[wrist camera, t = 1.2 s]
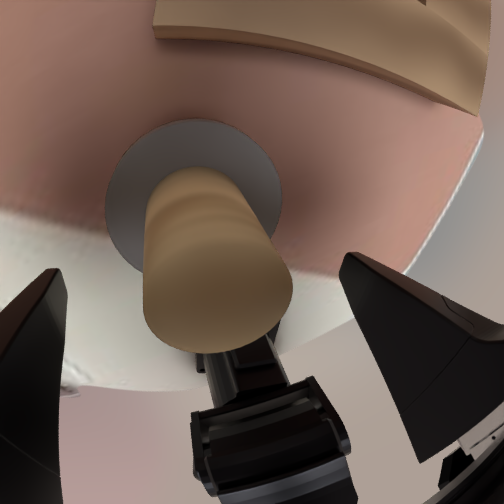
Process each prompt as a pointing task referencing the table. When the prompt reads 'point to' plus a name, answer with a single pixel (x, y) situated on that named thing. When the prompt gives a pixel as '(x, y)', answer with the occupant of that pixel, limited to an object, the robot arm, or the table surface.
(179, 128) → the tan piece
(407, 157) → the table surface
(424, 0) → the walnut board
